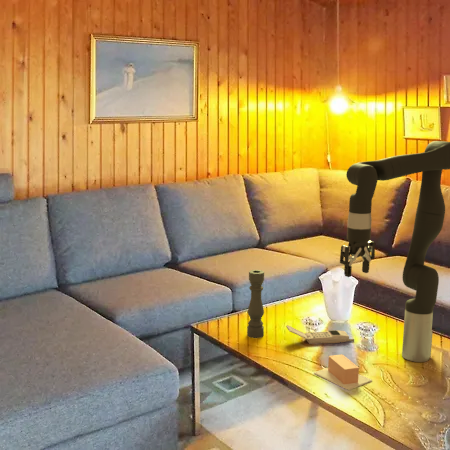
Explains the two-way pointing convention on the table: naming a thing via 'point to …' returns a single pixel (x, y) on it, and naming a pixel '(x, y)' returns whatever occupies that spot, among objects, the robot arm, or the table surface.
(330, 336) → the mobile phone
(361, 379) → the beige flat plate
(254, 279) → the candle holder
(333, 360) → the card box
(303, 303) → the table surface
